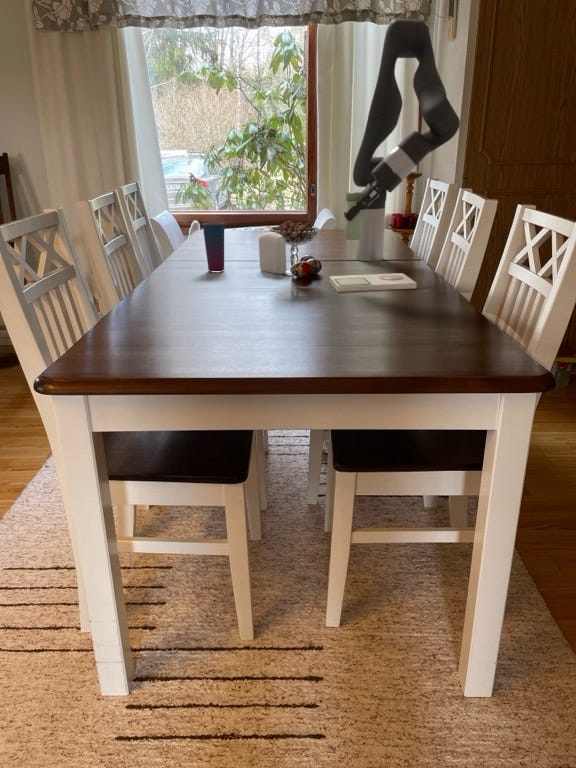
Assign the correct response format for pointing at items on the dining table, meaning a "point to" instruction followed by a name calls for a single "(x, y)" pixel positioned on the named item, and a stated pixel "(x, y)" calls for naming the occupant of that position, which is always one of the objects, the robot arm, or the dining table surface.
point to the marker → (356, 223)
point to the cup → (214, 245)
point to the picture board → (372, 282)
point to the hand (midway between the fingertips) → (346, 217)
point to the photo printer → (272, 252)
